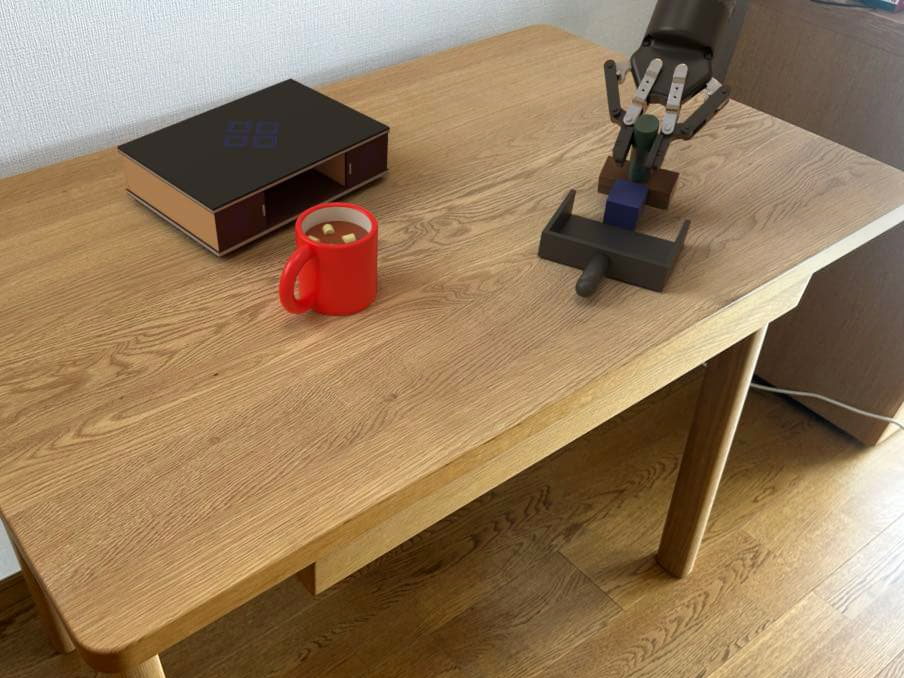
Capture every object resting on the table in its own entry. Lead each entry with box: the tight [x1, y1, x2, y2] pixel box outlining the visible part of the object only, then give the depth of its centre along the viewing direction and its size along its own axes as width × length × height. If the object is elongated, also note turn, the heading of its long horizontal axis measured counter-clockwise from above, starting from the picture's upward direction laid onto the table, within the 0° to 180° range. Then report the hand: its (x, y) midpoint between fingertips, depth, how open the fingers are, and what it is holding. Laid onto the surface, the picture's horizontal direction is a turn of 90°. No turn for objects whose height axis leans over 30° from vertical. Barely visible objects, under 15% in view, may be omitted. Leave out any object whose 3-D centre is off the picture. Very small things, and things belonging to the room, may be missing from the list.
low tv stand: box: [116, 78, 391, 259], centre depth 99 cm, size 17×25×7 cm
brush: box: [597, 113, 681, 211], centre depth 93 cm, size 8×3×11 cm, turn 62°
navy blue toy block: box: [602, 178, 649, 231], centre depth 95 cm, size 4×4×4 cm
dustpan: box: [537, 188, 692, 299], centre depth 90 cm, size 16×13×3 cm
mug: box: [278, 201, 379, 316], centre depth 84 cm, size 8×12×8 cm, turn 144°
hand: (633, 167), depth 90 cm, fingers closed on brush, 2 cm apart
